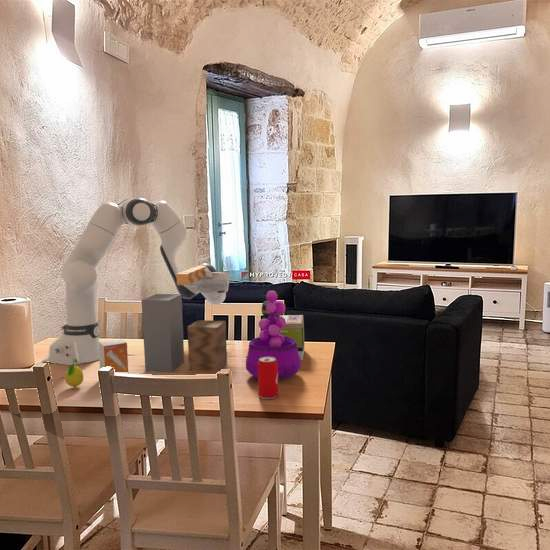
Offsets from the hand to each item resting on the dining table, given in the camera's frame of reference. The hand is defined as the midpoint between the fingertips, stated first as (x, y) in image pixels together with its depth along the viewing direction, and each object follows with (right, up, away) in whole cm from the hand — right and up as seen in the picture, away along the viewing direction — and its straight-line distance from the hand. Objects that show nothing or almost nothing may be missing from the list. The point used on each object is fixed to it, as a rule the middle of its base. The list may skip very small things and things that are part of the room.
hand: (198, 271), depth 207 cm
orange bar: (-1, -3, -7) cm, 8 cm away
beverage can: (+28, -39, -42) cm, 63 cm away
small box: (-26, -37, -22) cm, 50 cm away
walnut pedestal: (+5, -35, -9) cm, 36 cm away
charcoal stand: (-11, -35, -8) cm, 38 cm away
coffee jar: (+29, -31, +21) cm, 47 cm away
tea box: (+36, -33, +3) cm, 49 cm away
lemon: (-36, -39, -30) cm, 61 cm away
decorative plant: (+29, -36, -23) cm, 52 cm away
